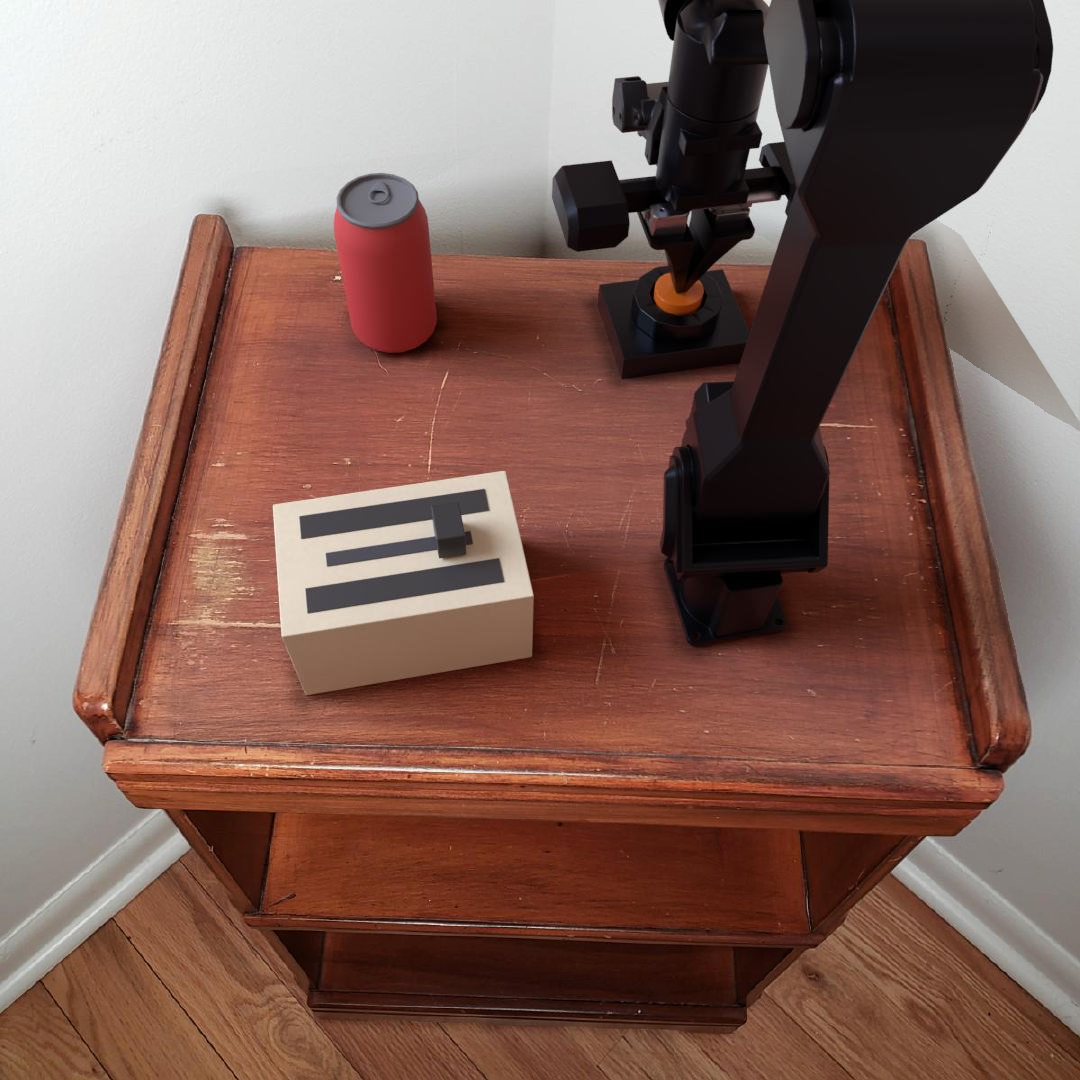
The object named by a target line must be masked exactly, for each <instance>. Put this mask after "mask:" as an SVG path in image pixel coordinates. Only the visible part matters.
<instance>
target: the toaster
mask: <svg viewBox="0 0 1080 1080" xmlns="http://www.w3.org/2000/svg"><path fill="white" fill-rule="evenodd" d="M507 475H508V474H507V471H506V470H501V471H493V472H485V473H479V474H472V475H466V476H459V477H452V478H447V479H446V478H445V479H439V480H431V481H425V482H419V483H411V484H405V485H397V486H391V487H384V488H376V489H370V490H363V491H355V492H350V493H342V494H336V495H329V496H321V497H314V498H307V499H302V500H301V499H300V500H295V501H288V502H281V503H274V504H272V513H273V514H272V516H273V530H274V531H273V532H274V544H275V546H274V547H275V559H276V571H277V572H276V574H277V575H276V577H277V590H278V603H279V604H278V606H279V618H280V621H279V622H280V633H281V634H280V635H281V639H282V642H283V644H284V647H285V648H286V651H287V653H288V655H289V658H290V660H291V663H292V665H293V668H294V671H295V672H296V675H297V678H298V680H299V682H300V685H301V687H302V690H303V692H304V695H306V696H310V695H317V694H322V693H329V692H333V691H339V690H345V689H353V688H357V687H363V686H368V685H374V684H382V683H386V682H393V681H399V680H405V679H410V678H415V677H422V676H428V675H432V674H440V673H446V672H451V671H457V670H463V669H470V668H474V667H481V666H486V665H487V666H488V665H493V664H498V663H505V662H511V661H516V660H522V659H528V658H531V657H532V658H533V636H534V602H535V599H534V598H535V594H534V590H533V586H532V580H531V577H530V573H529V568H528V563H527V559H526V555H525V551H524V550H525V549H524V546H523V542H522V541H523V540H522V537H521V532H520V529H519V524H518V519H517V515H516V511H515V506H514V501H513V497H512V492H511V489H510V484H509V479H508V476H507ZM452 502H459V506H460V511H461V516H462V521H463V527H464V532H465V540H466V554H465V555H459V556H452V557H446V558H439V556H438V550H437V544H436V538H435V533H434V527H433V519H432V511H431V506H432V505H438V504H445V503H452Z"/></svg>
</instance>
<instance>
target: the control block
mask: <svg viewBox="0 0 1080 1080" xmlns="http://www.w3.org/2000/svg"><path fill="white" fill-rule="evenodd" d="M667 273H670V271H669V267H668V265H662V266H655V267H653V268H652V269H650V270H649V271H647V272H646V273H644V274H642V275H641V276H640V277H639V278H638V279H631V280H625V281H617V282H616V281H615V282H609V283H600V284H599V286H598V293H597V294H598V296H597V309H598V311H599V314H600V318H601V321H602V324H603V327H604V330H605V333H606V336H607V339H608V342H609V345H610V348H611V352H612V355H613V358H614V361H615V364H616V367H617V371H618V373H619V377H620V379H621V380H625V379H632V378H641V377H647V376H648V377H649V376H654V375H655V376H656V375H662V374H671V373H678V372H685V371H692V370H700V369H707V368H714V367H720V366H721V367H722V366H729V365H736V364H740V361H741V358H742V355H743V352H744V349H745V346H746V343H747V340H748V337H749V333H750V329H749V327H748V324H747V322H746V320H745V318H744V315H743V313H742V311H741V308H740V306H739V304H738V301H737V299H736V296H735V294H734V292H733V290H732V287H731V285H730V282H729V280H728V278H727V276H726V274H725V271H724V269H720V268H719V269H714V270H707V272H706V273H705V274H704V275H703V276H702V277H701V278H700V279H699V281H700V282H701V283H702V285H703V288H704V293H703V298H702V303H701V308H700V309H699V310H698V311H696V312H695V313H692V314H684V315H675V314H671V313H667V312H664V311H662V310H661V309H660V308H658V307H657V306H656V305H655V304H653V297H654V291H655V284H656V282H657V280H658V279H659V278H660V277H661V276H663V275H664V274H667Z"/></svg>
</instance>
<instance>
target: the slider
mask: <svg viewBox="0 0 1080 1080" xmlns="http://www.w3.org/2000/svg"><path fill="white" fill-rule="evenodd" d="M431 511H432V519H433V527H434V533H435V538H436V544H437V550H438V556H439V558H446V557H452V556H459V555H465V554H466V540H465V532H464V527H463V521H462V516H461V511H460V506H459V502H452V503H445V504H438V505H432V506H431Z"/></svg>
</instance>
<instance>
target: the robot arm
mask: <svg viewBox="0 0 1080 1080" xmlns="http://www.w3.org/2000/svg"><path fill="white" fill-rule="evenodd" d="M657 1H658V5H659V9H660V13H661V16H662V21H663V25H664V28H665V31H666V35H667V37H668V39H669V40H670V41H673V45H672V53H671V60H670V65H669V66H670V67H669V73H668V74H669V75H668V81H661V82H651V83H647V82H646V80H645V79H642V78H641V76H638V75H636V76H635V75H634V76H624V77H617V78H614V83H613V90H612V98H611V118H612V124H613V126H615V128H616V129H617V130H618V131H619V132H620V133H622V134H626V133H635V132H636V134H637V135H638V136H639V137H641V138H642V137H643V138H644V139H645V148H644V156H645V159H646V161H647V164H648V166H656V169H655V170H656V171H655V175H652V176H643V177H642V176H641V177H633V178H623V179H619V176H618V173H617V171H616V168H615V165H614V163H613V160H602V161H593V162H585V163H584V162H583V163H575V164H567V165H566V164H565V165H562V166H561V167H559V168H558V170H557V171H556V172H555V174H554V175H553V177H552V186H551V190H552V191H551V201H552V202H553V206H554V209H555V212H556V215H557V219H558V222H559V225H560V229H561V231H562V235H563V238H564V241H565V244H566V247H567V248H569V250H573V251H575V252H577V253H581V252H589V251H597V250H605V249H613V248H617V247H618V246H619V245H620V244H621V243H622V242H624V241H625V240H626V239H627V238H628V237H629V233H630V225H631V224H630V223H631V222H630V214H633V213H636V214H637V217H638V219H639V222H640V224H641V227H642V229H643V233H644V234H645V235H644V236H645V238H646V240H647V243H648V245H649V247H650V248H651V249H653V250H655V251H664V254H665V259H666V262H667V266H668V267H669V271H670V275H671V279H672V283H673V286H674V289H675V292H676V293H681V292H682V293H683V292H687V291H688V290H689V289H690V288H691V287H692V286H693V285H694V284H695V283H696V282H697V281H698V280H699V279H700V278H701V277H702V276H703V275H704V274H705V273H706V272H707V271H709V270H710V269H711V268H712V267H713V266H714V265H715V264H716V263H717V262H718V261H719V260H721V258H723V257H724V256H725V255H726V254H727V253H729V251H731V250H732V249H734V248H735V247H736V246H737V245H738V244H739V243H740V242H742V241H746V240H751V239H752V238H753V237H754V235H755V232H756V228H755V225H754V223H753V222H752V219H751V217H750V212H751V209H750V208H752V206H753V204H759V203H769V202H777V201H781V199H782V196H785V197H786V200H787V202H786V205H785V210H784V214H785V215H786V219H785V223H784V225H783V229H782V231H781V235H780V238H779V240H778V245H777V246H776V250H775V253H774V255H773V256H774V257H773V260H772V262H771V266H770V269H769V272H768V275H767V278H766V281H765V284H764V287H763V290H762V294H761V296H760V300H759V303H758V306H757V309H756V312H755V315H754V318H753V322H752V325H751V327H750V329H749V331H750V333H749V337H748V340H747V343H746V346H745V349H744V352H743V355H742V358H741V361H740V363H738V364H739V365H738V368H737V370H736V373H735V377H734V380H732V381H731V380H730V381H729V380H728V381H707V382H706V381H704V382H702V384H700V386H699V387H698V388H697V389H696V390H695V391H694V394H693V399H692V404H691V409H690V412H689V415H688V418H687V419H686V420H685V431H684V433H683V436H682V439H681V445H679V446H675V447H673V450H672V454H671V455H669V457H668V458H669V460H668V468H667V469H666V470H665V471H664V473H663V495H662V497H663V499H662V501H663V503H662V505H663V506H662V530H661V537H660V540H659V548H660V553H661V554H663V555H664V556H665V557H666V558H665V559H664V562H663V570H664V572H665V576H666V579H667V583H668V585H669V589H670V592H671V595H672V599H673V602H674V604H675V609H676V611H677V614H678V617H679V620H680V624H681V628H682V630H683V633H684V637H685V640H686V642H687V644H688V645H690V646H692V647H700V646H706V645H712V644H717V643H723V642H724V643H725V642H730V641H733V640H740V639H747V638H751V637H753V638H754V637H758V636H763V635H768V634H769V635H770V634H775V633H781V632H783V631H784V630H785V628H786V626H787V619H786V617H785V614H784V611H783V608H782V607H781V603H780V600H779V598H778V594H779V593H780V590H781V588H782V585H783V583H784V579H783V577H782V574H791V573H793V574H794V573H808V574H817V573H820V572H821V571H823V570H824V569H825V568H827V567H828V564H829V558H828V557H829V519H830V518H829V515H830V514H829V512H830V475H831V471H830V461H829V455H828V451H827V449H826V446H825V444H824V442H823V438H822V433H821V429H820V426H821V424H822V422H823V420H824V417H825V415H826V414H827V411H828V409H829V407H830V405H831V403H832V401H833V399H834V397H835V394H836V393H837V391H838V388H839V386H840V384H841V383H842V381H843V378H844V376H845V374H846V372H847V369H848V368H849V365H850V363H851V361H852V359H853V357H854V355H855V353H856V351H857V350H858V349H857V348H858V347H859V344H860V342H861V340H862V338H863V336H864V334H865V332H866V330H867V327H868V325H869V323H870V321H871V319H872V317H873V315H874V313H875V311H876V309H877V308H878V307H877V306H878V305H879V302H881V301H880V300H881V298H882V297H883V294H884V292H885V290H886V288H887V286H888V284H889V281H890V279H891V278H892V275H893V273H894V271H895V269H896V267H897V265H898V264H899V261H900V259H901V256H902V254H903V252H904V250H905V248H906V246H907V244H908V242H909V240H910V238H911V237H912V235H913V234H916V232H918V231H920V230H921V229H923V228H925V227H926V226H928V225H929V224H930V223H932V222H933V221H935V220H936V219H938V218H940V217H941V216H943V215H944V214H946V213H948V212H949V211H951V210H952V209H954V208H955V207H957V206H958V205H960V204H961V203H963V202H964V201H967V199H969V198H971V197H972V196H974V195H975V194H977V193H978V192H979V191H980V190H981V189H982V188H983V187H984V185H986V183H987V181H988V180H989V178H990V177H991V176H992V175H993V173H994V172H995V170H996V169H997V168H998V166H999V165H1000V163H1001V162H1002V160H1003V159H1004V158H1005V156H1006V155H1007V153H1008V152H1009V151H1010V149H1011V148H1012V146H1013V145H1014V144H1015V142H1016V141H1017V139H1018V138H1019V136H1020V135H1021V134H1022V132H1023V130H1024V129H1025V127H1026V125H1027V124H1028V122H1029V120H1030V118H1031V116H1032V114H1034V113H1035V112H1036V111H1037V109H1038V107H1039V105H1040V103H1041V101H1042V99H1043V97H1044V95H1045V93H1046V91H1047V87H1048V84H1049V80H1050V76H1051V73H1052V68H1053V67H1052V65H1053V57H1054V56H1053V55H1054V41H1053V33H1052V32H1053V31H1052V27H1051V24H1050V19H1049V16H1048V13H1047V9H1046V6H1045V1H1044V0H770V2H769V3H770V4H769V5H768V3H767V2H766V1H765V0H657ZM768 70H769V75H770V80H771V88H772V94H773V99H774V105H775V110H776V114H777V118H778V122H779V126H780V130H781V133H782V137H783V138H782V139H783V141H777V142H769V143H767V144H765V145H762V146H761V141H762V137H763V132H762V130H761V128H760V126H759V124H758V122H757V119H758V114H759V110H760V105H761V101H762V96H763V91H764V87H765V82H766V77H767V73H768ZM760 146H761V149H760ZM752 149H760V154H759V158H758V162H759V163H760V166H761V167H754V168H747V166H748V165H747V164H748V160H749V155H750V151H751V150H752ZM690 214H691V215H690ZM689 216H690V220H689V224H688V219H689ZM670 564H673V565H670ZM776 622H778V623H780V625H778V624H777V623H776ZM692 637H696V638H697V639H694V638H692Z"/></svg>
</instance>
